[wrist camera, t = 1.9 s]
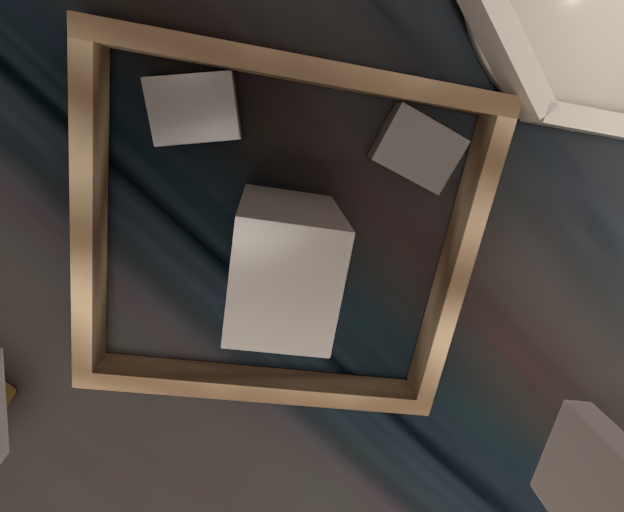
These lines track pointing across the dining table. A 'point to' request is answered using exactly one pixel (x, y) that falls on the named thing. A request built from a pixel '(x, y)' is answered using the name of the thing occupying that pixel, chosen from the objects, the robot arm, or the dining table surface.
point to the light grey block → (192, 108)
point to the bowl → (554, 59)
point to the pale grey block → (286, 272)
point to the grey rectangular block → (418, 147)
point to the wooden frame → (289, 66)
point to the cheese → (9, 392)
